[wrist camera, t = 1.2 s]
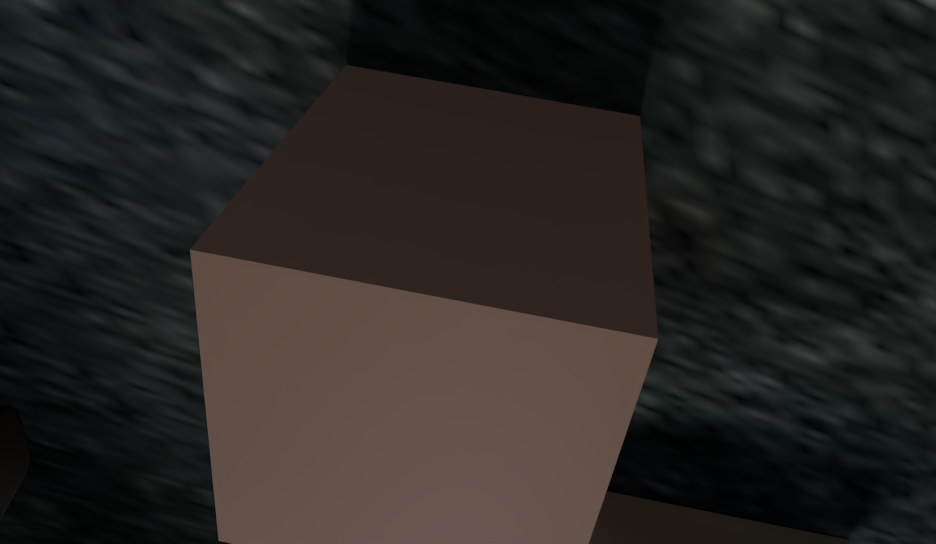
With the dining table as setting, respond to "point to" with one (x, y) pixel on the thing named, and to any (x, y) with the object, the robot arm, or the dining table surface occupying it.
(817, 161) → the dining table surface
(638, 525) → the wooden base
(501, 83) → the dining table surface
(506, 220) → the terracotta block
